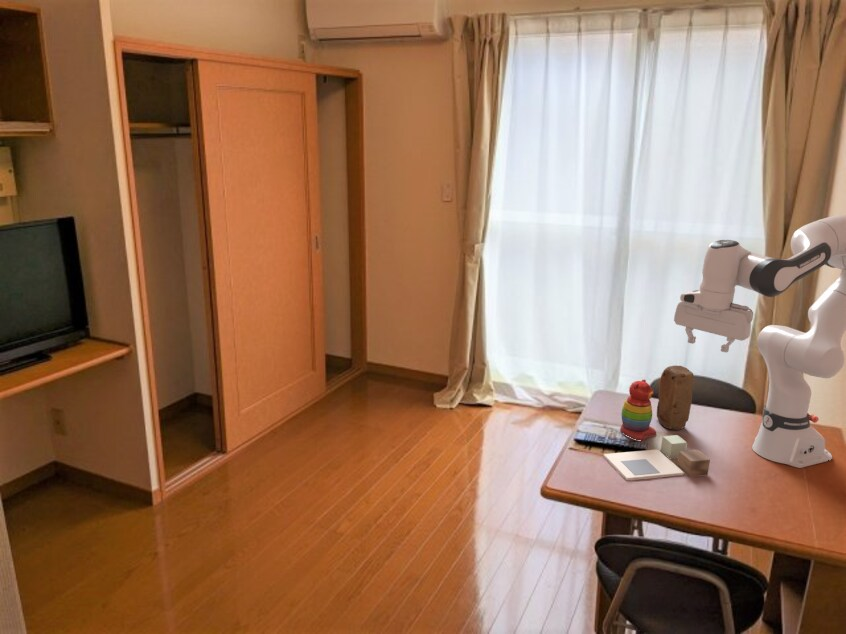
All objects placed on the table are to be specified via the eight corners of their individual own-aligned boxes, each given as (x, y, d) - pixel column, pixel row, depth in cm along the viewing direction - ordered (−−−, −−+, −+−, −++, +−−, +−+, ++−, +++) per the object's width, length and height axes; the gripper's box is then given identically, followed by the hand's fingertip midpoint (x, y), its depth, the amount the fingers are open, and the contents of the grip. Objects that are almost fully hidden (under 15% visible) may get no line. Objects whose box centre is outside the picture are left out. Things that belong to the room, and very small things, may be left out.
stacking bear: (639, 443, 209) (646, 390, 204) (612, 431, 216) (618, 380, 211) (658, 434, 215) (665, 383, 210) (631, 422, 223) (638, 373, 218)
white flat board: (657, 451, 204) (657, 449, 203) (683, 475, 191) (684, 472, 190) (603, 456, 200) (603, 453, 200) (626, 480, 187) (626, 477, 186)
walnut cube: (695, 464, 197) (697, 449, 195) (707, 475, 191) (710, 459, 190) (676, 466, 196) (679, 451, 194) (688, 477, 190) (691, 461, 188)
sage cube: (675, 449, 206) (677, 435, 204) (684, 457, 201) (686, 442, 199) (660, 451, 204) (662, 436, 203) (669, 458, 200) (672, 443, 198)
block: (689, 430, 218) (698, 373, 213) (668, 432, 217) (676, 374, 211) (671, 416, 229) (679, 362, 223) (651, 417, 227) (659, 362, 221)
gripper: (759, 305, 177) (750, 354, 181) (685, 290, 192) (678, 335, 196) (749, 309, 173) (740, 359, 177) (675, 293, 187) (668, 340, 191)
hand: (707, 347), depth 186 cm, fingers open, 8 cm apart
